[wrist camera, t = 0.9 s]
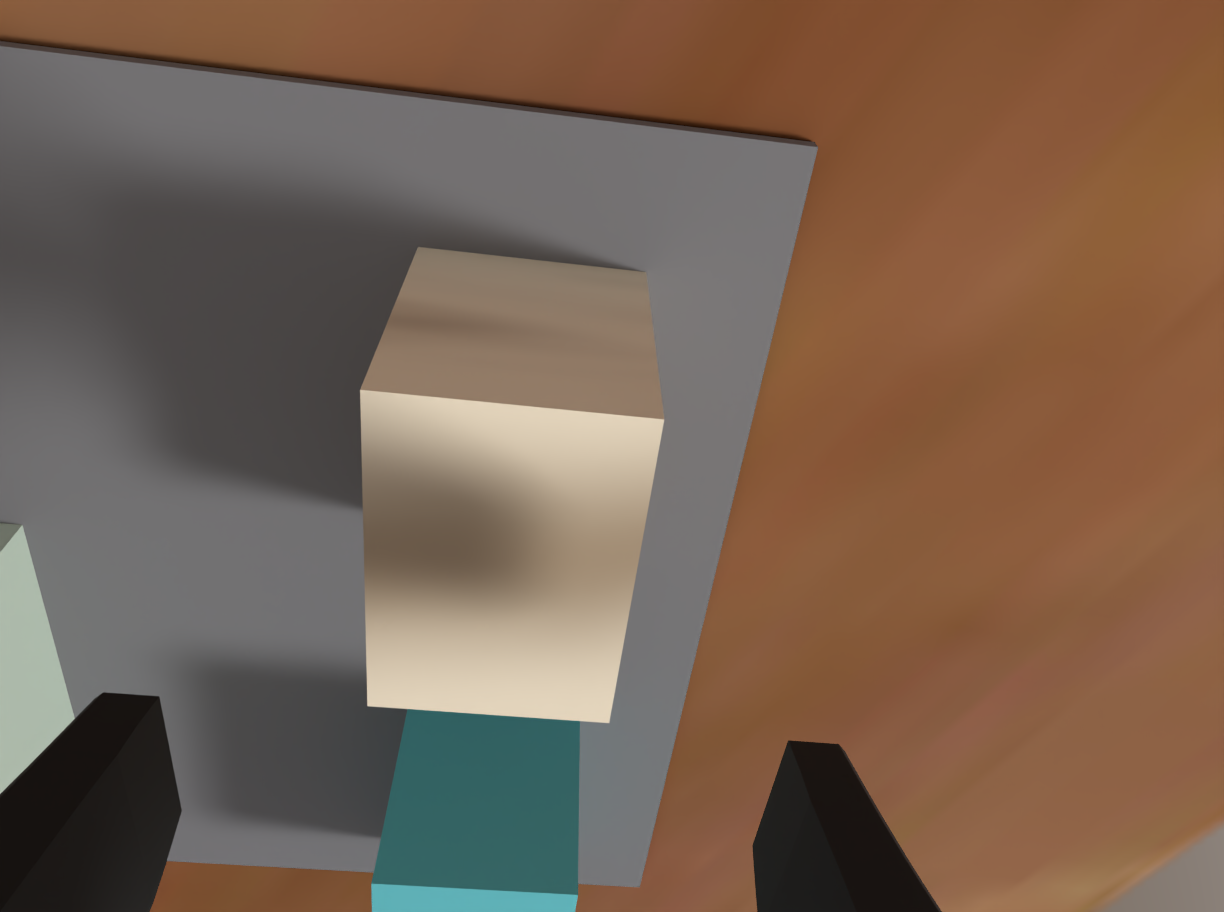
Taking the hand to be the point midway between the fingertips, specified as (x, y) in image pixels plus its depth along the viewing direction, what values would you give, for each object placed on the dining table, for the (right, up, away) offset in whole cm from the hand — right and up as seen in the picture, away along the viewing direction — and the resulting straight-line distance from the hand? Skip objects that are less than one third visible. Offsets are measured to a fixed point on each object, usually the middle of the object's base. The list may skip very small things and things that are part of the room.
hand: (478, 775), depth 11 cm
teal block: (-2, -4, +13) cm, 14 cm away
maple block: (0, +5, +7) cm, 8 cm away
